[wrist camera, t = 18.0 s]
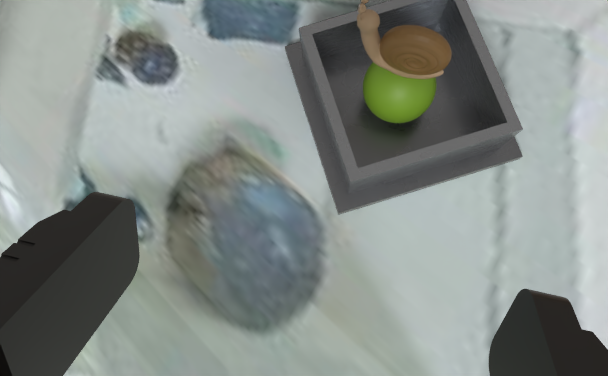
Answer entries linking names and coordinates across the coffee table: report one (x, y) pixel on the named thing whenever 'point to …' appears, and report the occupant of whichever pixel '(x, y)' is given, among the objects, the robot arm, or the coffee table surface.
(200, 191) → the coffee table surface
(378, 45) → the snail figurine
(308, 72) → the duct collar
